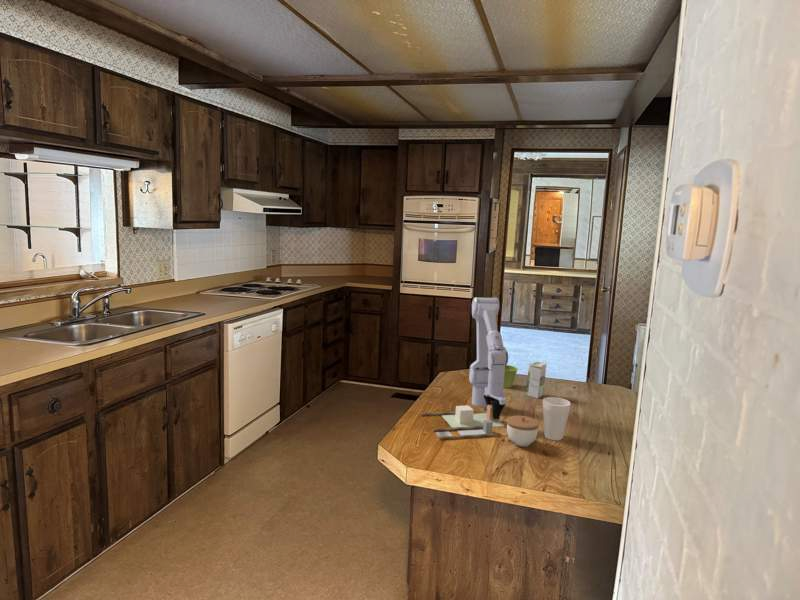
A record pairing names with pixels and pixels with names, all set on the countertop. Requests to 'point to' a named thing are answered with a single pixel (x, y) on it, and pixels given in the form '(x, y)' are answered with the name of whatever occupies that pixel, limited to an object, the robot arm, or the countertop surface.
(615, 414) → the countertop surface
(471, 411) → the cream cube
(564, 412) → the foam cup
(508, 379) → the plant pot
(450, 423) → the green flat panel
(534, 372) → the syrup box
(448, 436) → the lane rails
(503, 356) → the robot arm
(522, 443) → the lidded jar
